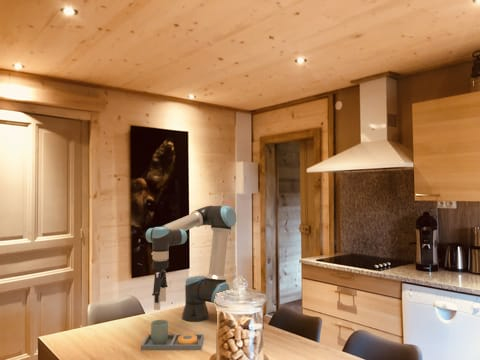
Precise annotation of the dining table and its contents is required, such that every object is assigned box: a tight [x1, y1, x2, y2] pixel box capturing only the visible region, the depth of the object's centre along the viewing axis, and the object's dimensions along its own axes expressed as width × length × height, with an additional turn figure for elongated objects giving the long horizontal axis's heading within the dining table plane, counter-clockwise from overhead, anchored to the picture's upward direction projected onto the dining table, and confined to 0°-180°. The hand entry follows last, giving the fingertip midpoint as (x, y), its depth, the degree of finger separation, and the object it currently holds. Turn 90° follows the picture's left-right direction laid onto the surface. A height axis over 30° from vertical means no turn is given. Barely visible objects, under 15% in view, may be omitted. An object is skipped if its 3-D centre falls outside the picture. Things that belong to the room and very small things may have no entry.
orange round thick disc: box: [178, 333, 197, 345], centre depth 181 cm, size 9×9×3 cm
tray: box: [140, 333, 205, 351], centre depth 181 cm, size 27×14×2 cm, turn 90°
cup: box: [150, 319, 169, 345], centre depth 181 cm, size 8×8×10 cm
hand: (160, 305), depth 182 cm, fingers open, 13 cm apart
